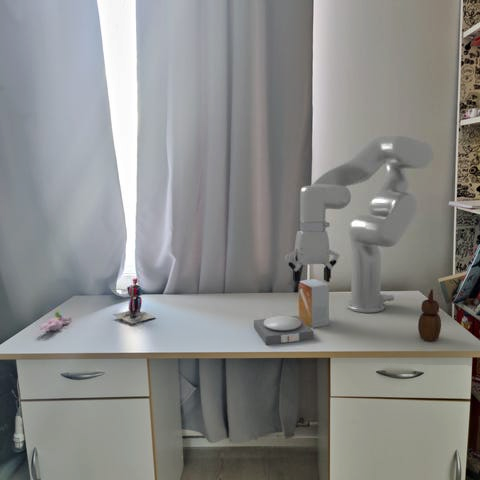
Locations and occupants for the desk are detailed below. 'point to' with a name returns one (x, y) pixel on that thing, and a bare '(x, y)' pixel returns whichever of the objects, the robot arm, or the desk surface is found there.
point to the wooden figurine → (429, 319)
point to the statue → (134, 307)
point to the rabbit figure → (56, 322)
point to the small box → (314, 303)
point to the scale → (282, 329)
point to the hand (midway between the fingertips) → (311, 282)
